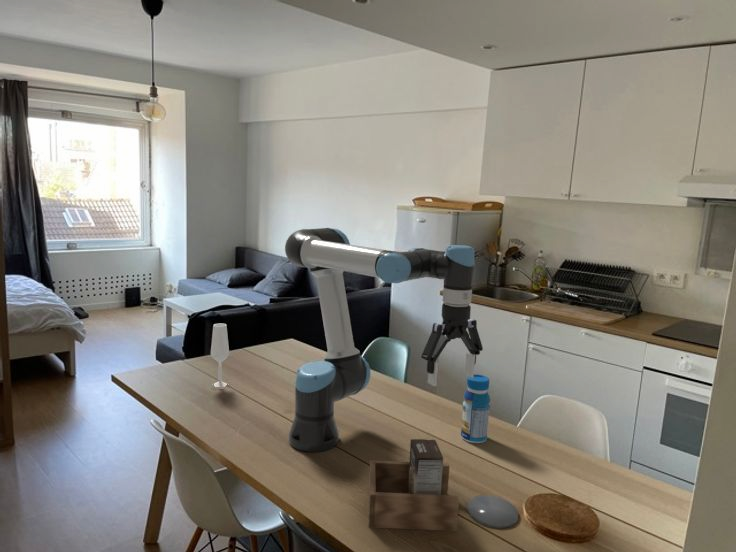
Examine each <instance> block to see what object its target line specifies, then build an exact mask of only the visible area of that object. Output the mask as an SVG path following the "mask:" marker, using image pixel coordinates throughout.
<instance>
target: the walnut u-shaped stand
mask: <svg viewBox="0 0 736 552" xmlns="http://www.w3.org/2000/svg"><path fill="white" fill-rule="evenodd" d="M369 462H370V465H369V467H370V468H369V481H368V482H369V485H368V487H369V488H368V528H382V529H398V530H399V529H402V530H403V529H404V530H424V531H425V530H426V531H428V530H429V531H445V532H446V531H447V532H448V531H449V532H451V531H452V532H453V531H454V532H456V531H457V526H458V516H459V514H458V512H459V502H460V499H459V495H448V493H449V491H448V489H449V481H450V480H449V478H450V477H449V476H450V463H444V462H443V470H442V483H441V495H428V494H408V481H409V463H410V461H394V460H373V459H372V460H369Z"/></svg>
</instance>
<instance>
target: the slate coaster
mask: <svg viewBox="0 0 736 552" xmlns="http://www.w3.org/2000/svg"><path fill="white" fill-rule="evenodd" d="M466 509H467V513H468V515H469V516H470V518H471V519H473V520H474V521H475V522H476V523H478V524H480V525H482V526H486V527H489V528H492V529H493V528H494V529H506V528H509V527H512V526H514V525H516V523H517V522H518V519H519V511H518V509H517V508H516V506H515V505H514V504H513V503H511V502H510V501H509V500H507V499H504V498H502V497H499V496H496V495H489V494H483V495H477V496H474V497H472V498H471V499H469V500H468V502H467V508H466Z"/></svg>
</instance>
